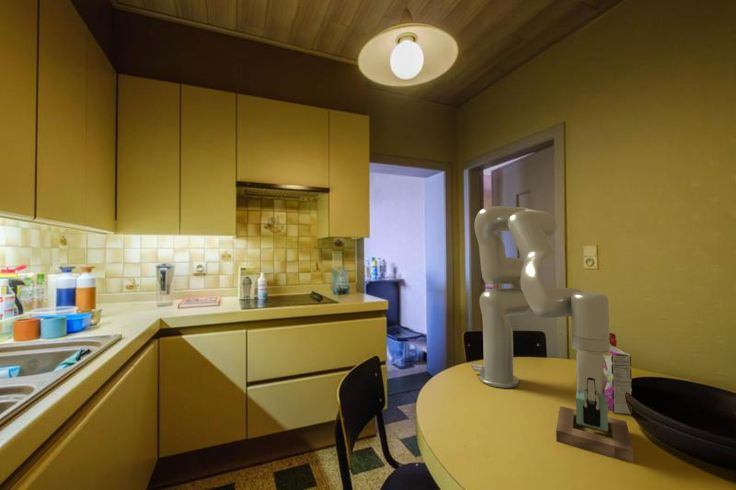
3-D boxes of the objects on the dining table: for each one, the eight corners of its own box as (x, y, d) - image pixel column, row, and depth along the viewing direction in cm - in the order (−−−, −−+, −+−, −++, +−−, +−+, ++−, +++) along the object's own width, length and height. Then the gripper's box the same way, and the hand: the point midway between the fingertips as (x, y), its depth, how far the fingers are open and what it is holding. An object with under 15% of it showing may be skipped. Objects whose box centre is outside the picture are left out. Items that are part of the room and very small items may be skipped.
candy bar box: (592, 395, 97) (591, 342, 98) (610, 397, 96) (609, 342, 97) (612, 413, 86) (611, 353, 87) (633, 415, 85) (632, 354, 86)
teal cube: (576, 423, 75) (576, 398, 75) (577, 412, 80) (576, 389, 80) (608, 431, 72) (607, 404, 72) (606, 419, 77) (605, 394, 77)
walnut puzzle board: (556, 440, 74) (556, 430, 74) (560, 415, 86) (559, 406, 86) (633, 463, 66) (633, 451, 66) (626, 431, 78) (626, 421, 78)
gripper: (572, 333, 86) (573, 400, 85) (570, 350, 72) (571, 430, 71) (607, 337, 81) (608, 408, 81) (612, 356, 67) (614, 441, 67)
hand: (591, 418), depth 76 cm, fingers closed on teal cube, 5 cm apart
